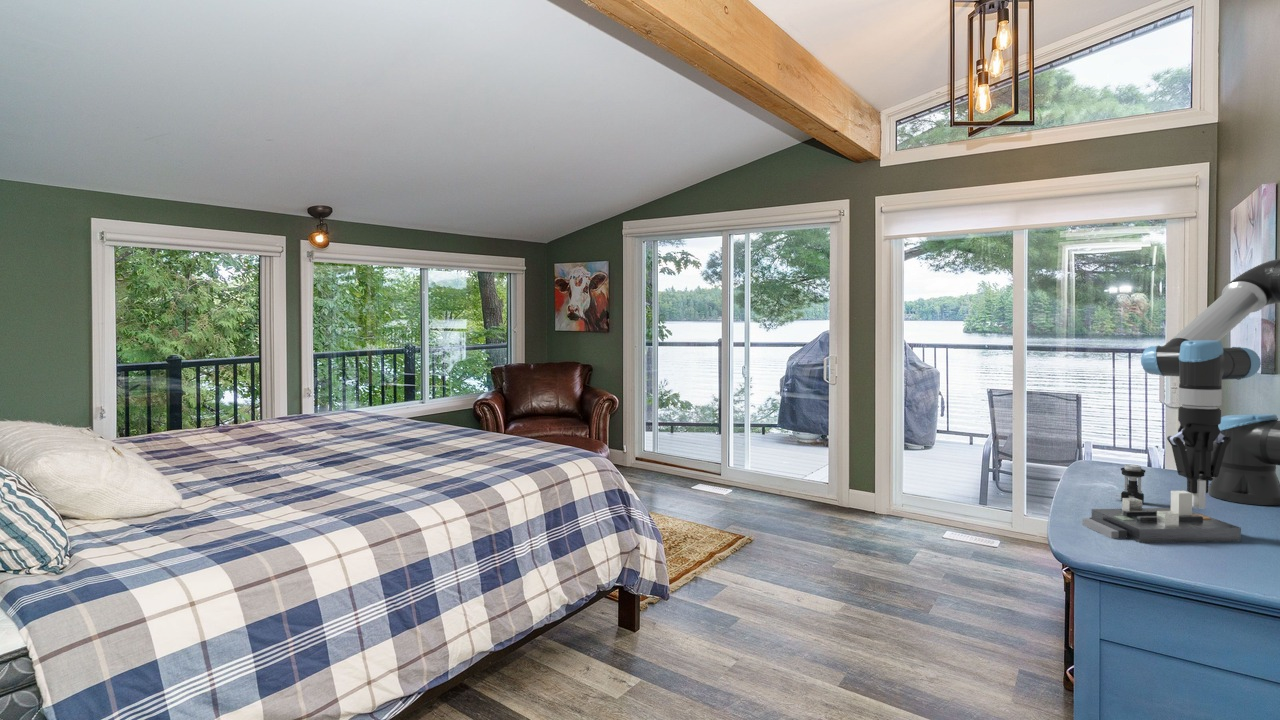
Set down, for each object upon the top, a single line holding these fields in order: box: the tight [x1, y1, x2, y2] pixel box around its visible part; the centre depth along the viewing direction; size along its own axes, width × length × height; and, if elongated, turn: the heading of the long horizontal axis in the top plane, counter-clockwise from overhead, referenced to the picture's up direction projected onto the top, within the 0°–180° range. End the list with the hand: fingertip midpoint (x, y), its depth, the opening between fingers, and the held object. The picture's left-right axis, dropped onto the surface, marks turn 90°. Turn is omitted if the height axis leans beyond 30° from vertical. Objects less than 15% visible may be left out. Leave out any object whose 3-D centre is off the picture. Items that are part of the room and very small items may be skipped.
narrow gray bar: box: [1082, 517, 1128, 539], centre depth 152 cm, size 3×10×2 cm, turn 178°
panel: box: [1091, 498, 1242, 544], centre depth 151 cm, size 22×16×6 cm
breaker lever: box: [1170, 490, 1193, 516], centre depth 151 cm, size 3×2×6 cm
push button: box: [1114, 464, 1146, 505], centre depth 175 cm, size 7×5×10 cm
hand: (1197, 506), depth 151 cm, fingers closed
